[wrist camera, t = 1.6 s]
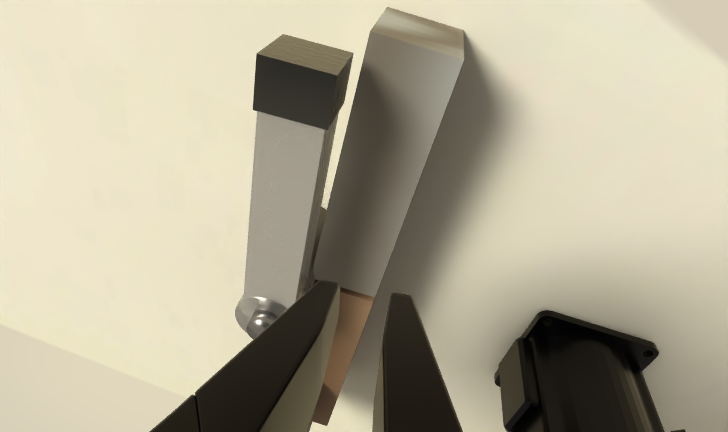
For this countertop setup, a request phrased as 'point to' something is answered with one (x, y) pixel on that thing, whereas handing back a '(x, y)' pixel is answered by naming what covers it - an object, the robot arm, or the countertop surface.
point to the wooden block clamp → (380, 171)
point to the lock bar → (288, 171)
